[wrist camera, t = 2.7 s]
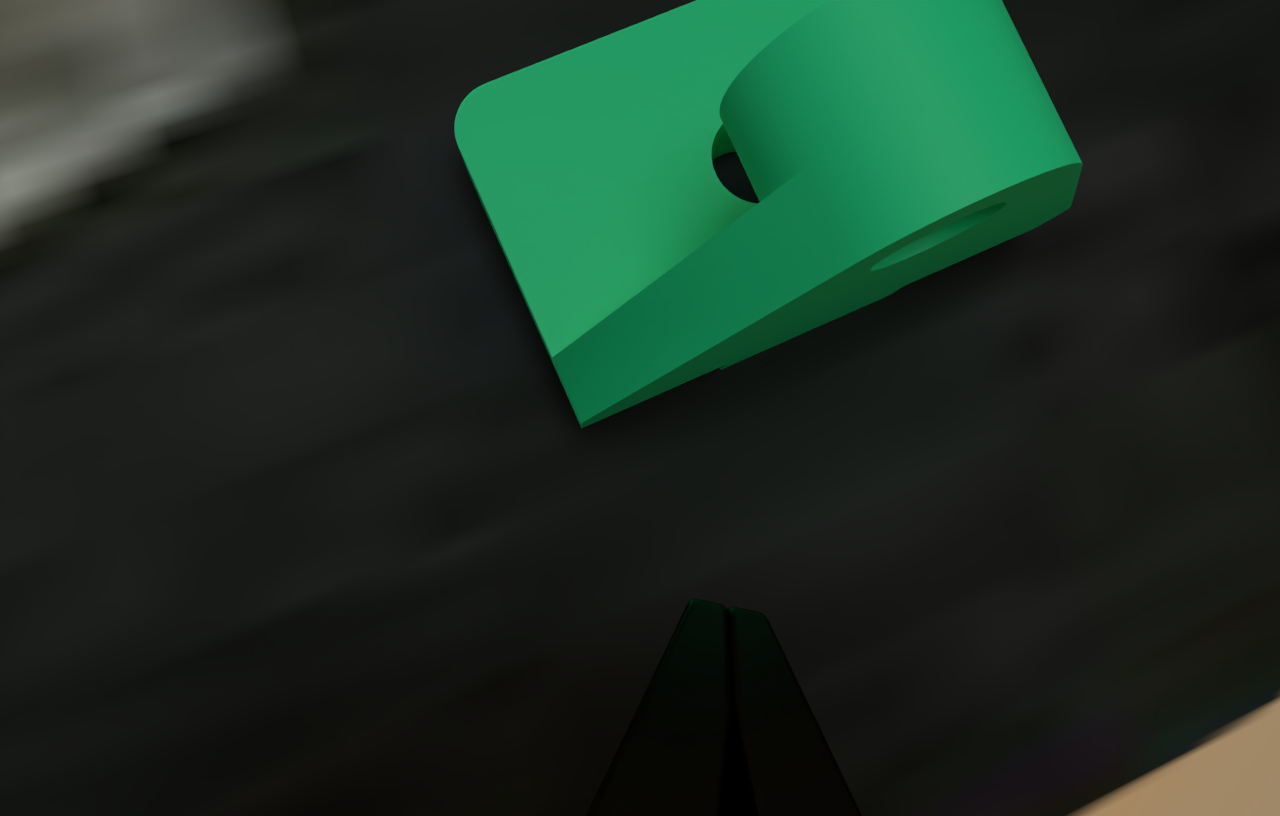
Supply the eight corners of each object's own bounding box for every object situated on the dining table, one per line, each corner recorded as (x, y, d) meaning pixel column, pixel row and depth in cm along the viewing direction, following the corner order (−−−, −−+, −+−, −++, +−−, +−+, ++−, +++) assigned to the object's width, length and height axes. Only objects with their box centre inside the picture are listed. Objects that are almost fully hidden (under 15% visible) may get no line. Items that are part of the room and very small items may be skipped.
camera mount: (885, -22, 22) (1138, -455, 12) (1013, 241, 22) (1388, 22, 12) (456, 150, 21) (337, -169, 11) (582, 432, 21) (579, 373, 10)
